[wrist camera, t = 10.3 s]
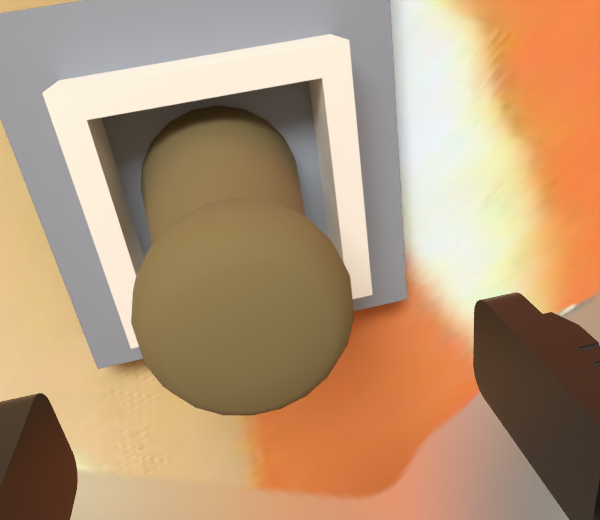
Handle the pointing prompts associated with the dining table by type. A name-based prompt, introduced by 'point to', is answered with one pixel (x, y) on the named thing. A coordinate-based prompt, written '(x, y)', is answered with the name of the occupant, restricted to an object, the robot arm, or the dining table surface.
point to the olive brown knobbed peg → (235, 269)
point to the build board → (188, 96)
